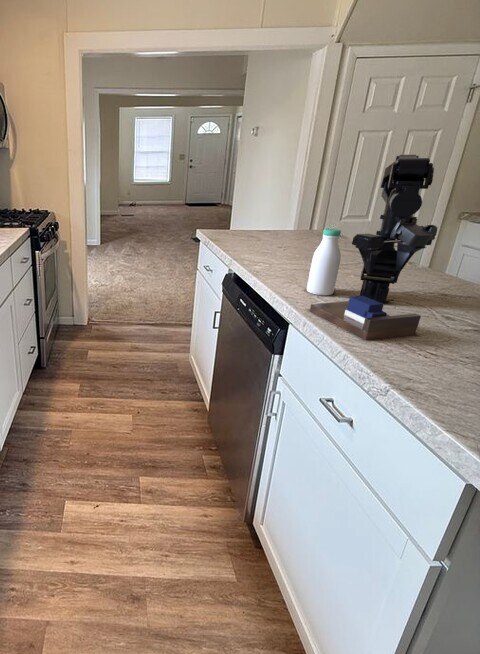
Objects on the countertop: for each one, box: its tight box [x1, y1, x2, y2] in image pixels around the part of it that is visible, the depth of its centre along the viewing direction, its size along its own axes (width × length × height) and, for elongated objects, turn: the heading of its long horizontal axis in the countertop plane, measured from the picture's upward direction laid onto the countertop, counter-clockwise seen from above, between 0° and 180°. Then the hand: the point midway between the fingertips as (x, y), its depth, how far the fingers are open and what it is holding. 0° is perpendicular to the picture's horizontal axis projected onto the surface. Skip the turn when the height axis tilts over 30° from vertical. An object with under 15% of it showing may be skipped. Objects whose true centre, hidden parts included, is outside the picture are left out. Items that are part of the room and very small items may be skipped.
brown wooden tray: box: [309, 300, 422, 341], centre depth 105 cm, size 20×14×5 cm
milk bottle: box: [306, 228, 342, 296], centre depth 125 cm, size 8×8×20 cm
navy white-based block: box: [344, 296, 388, 324], centre depth 101 cm, size 8×4×5 cm, turn 10°
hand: (383, 272), depth 106 cm, fingers open, 9 cm apart
